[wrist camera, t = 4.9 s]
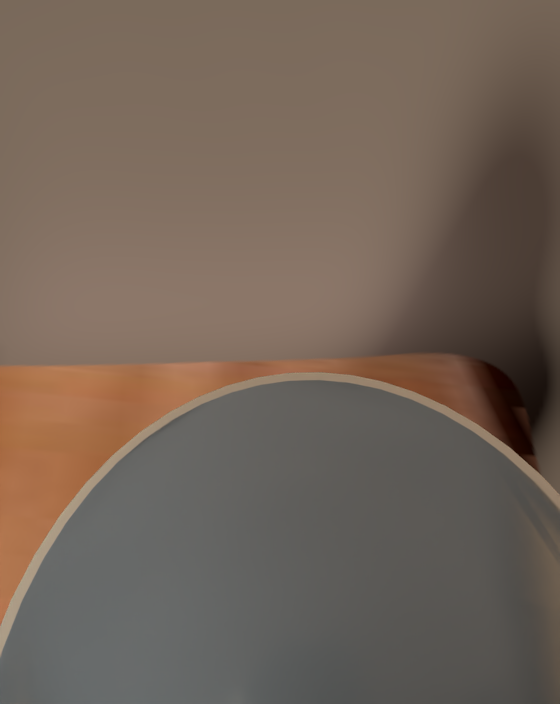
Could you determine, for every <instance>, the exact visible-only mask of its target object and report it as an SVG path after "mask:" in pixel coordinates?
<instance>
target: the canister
mask: <svg viewBox="0 0 560 704" xmlns="http://www.w3.org/2000/svg"><path fill="white" fill-rule="evenodd" d="M0 704H560V495H559V494H558V493H557V492H556V491H555V490H554V488H553V487H552V486H551V485H550V484H549V483H548V482H547V481H546V480H545V479H544V478H543V477H542V476H541V475H540V474H539V473H538V472H537V471H536V470H535V469H533V468H532V467H531V466H530V465H529V464H528V463H527V462H525V461H524V460H523V459H522V458H521V457H520V456H519V455H518V454H516V453H515V452H514V451H513V450H512V449H511V448H510V447H508V446H507V445H505V444H504V443H503V442H501V441H500V440H498V439H497V438H496V437H494V436H493V435H492V434H490V433H489V432H487V431H486V430H485V429H483V428H482V427H480V426H479V425H478V424H476V423H474V422H472V421H471V420H469V419H467V418H466V417H464V416H462V415H460V414H459V413H457V412H455V411H453V410H452V409H450V408H448V407H447V406H445V405H442V404H440V403H438V402H436V401H433V400H431V399H429V398H427V397H424V396H422V395H420V394H418V393H416V392H413V391H410V390H407V389H404V388H401V387H398V386H395V385H392V384H388V383H385V382H382V381H378V380H373V379H368V378H363V377H358V376H353V375H345V374H334V373H323V372H308V373H285V374H278V375H271V376H264V377H258V378H254V379H250V380H246V381H243V382H239V383H235V384H231V385H228V386H225V387H223V388H220V389H217V390H215V391H212V392H210V393H207V394H205V395H202V396H199V397H197V398H195V399H194V400H192V401H190V402H188V403H186V404H184V405H182V406H180V407H178V408H176V409H175V410H173V411H171V412H169V413H167V414H166V415H165V416H163V417H162V418H160V419H159V420H157V421H156V422H154V423H153V424H151V425H150V426H148V427H147V428H145V429H144V430H142V431H141V432H140V433H138V434H137V435H136V436H135V437H134V438H132V439H131V440H130V441H129V442H128V443H127V444H125V445H124V446H123V447H122V448H121V449H119V450H118V451H117V452H116V453H115V454H113V455H112V456H111V457H110V458H109V460H108V461H107V462H106V463H105V464H104V465H103V466H102V467H101V468H100V469H99V470H98V471H97V472H96V473H95V474H94V475H93V476H92V477H91V478H90V479H89V480H88V481H87V482H86V483H85V485H84V486H83V487H82V488H81V490H80V491H79V492H78V493H77V495H76V496H75V497H74V498H73V500H72V501H71V502H70V504H69V505H68V506H67V507H66V509H65V510H64V511H63V512H62V514H61V515H60V516H59V518H58V519H57V521H56V522H55V524H54V525H53V527H52V529H51V530H50V532H49V533H48V535H47V536H46V538H45V539H44V541H43V542H42V544H41V546H40V547H39V549H38V550H37V552H36V553H35V555H34V557H33V559H32V561H31V563H30V565H29V566H28V568H27V570H26V572H25V574H24V576H23V578H22V580H21V582H20V584H19V586H18V588H17V589H16V591H15V593H14V595H13V597H12V599H11V602H10V604H9V607H8V609H7V611H6V614H5V616H4V619H3V621H2V624H1V626H0Z"/></svg>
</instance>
